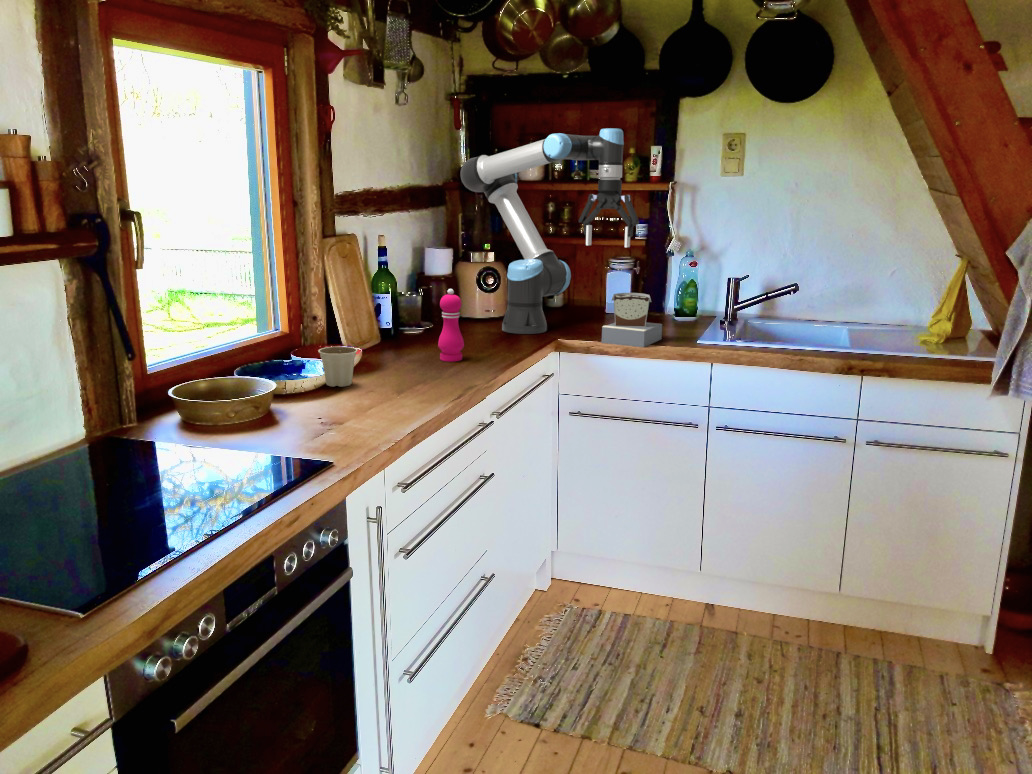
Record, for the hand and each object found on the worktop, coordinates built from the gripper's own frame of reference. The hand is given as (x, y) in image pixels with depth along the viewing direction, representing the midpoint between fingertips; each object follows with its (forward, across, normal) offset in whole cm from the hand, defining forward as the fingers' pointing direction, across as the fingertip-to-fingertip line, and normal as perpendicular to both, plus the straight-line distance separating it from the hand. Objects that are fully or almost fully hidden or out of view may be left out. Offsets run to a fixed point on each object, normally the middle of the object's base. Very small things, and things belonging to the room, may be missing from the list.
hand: (607, 246), depth 270 cm
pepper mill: (+29, -20, -62) cm, 71 cm away
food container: (+24, +12, -8) cm, 28 cm away
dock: (+29, +13, -8) cm, 33 cm away
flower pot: (+29, -27, -101) cm, 108 cm away
